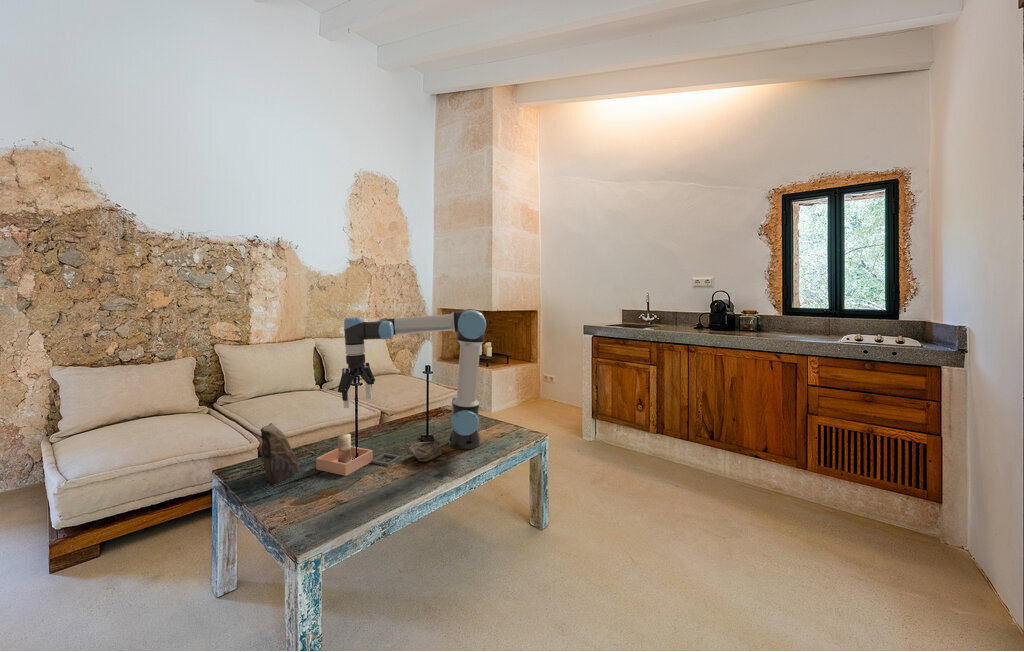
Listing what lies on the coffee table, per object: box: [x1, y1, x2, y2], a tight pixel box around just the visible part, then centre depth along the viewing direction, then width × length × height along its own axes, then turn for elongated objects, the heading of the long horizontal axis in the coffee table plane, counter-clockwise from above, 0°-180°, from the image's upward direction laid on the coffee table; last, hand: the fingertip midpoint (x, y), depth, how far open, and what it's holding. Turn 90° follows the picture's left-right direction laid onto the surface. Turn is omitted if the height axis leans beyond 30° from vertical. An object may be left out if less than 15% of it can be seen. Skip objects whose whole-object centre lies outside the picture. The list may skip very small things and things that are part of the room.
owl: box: [259, 422, 301, 484], centre depth 164 cm, size 13×13×20 cm
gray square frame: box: [370, 452, 402, 467], centre depth 180 cm, size 9×9×1 cm
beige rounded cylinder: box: [337, 433, 352, 464], centre depth 174 cm, size 6×6×12 cm
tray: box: [315, 445, 374, 477], centre depth 175 cm, size 16×16×5 cm
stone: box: [409, 440, 443, 463], centre depth 182 cm, size 14×10×10 cm
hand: (358, 403), depth 178 cm, fingers open, 13 cm apart
